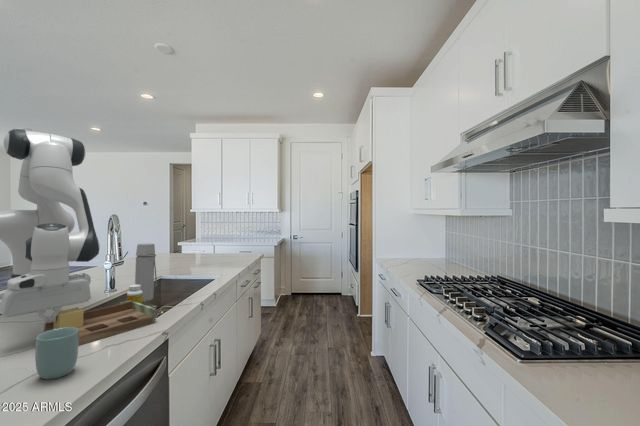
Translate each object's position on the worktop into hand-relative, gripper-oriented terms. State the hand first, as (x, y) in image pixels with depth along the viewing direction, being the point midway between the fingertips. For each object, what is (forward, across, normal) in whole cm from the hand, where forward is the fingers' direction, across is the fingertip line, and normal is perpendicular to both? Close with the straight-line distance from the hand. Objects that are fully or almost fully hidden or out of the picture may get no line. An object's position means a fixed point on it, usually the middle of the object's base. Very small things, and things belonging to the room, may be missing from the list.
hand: (48, 323), depth 90 cm
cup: (+5, +6, +26) cm, 27 cm away
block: (+3, -5, 0) cm, 5 cm away
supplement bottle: (+5, -29, -9) cm, 31 cm away
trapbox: (+5, -13, +3) cm, 15 cm away
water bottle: (+5, -39, -19) cm, 44 cm away
